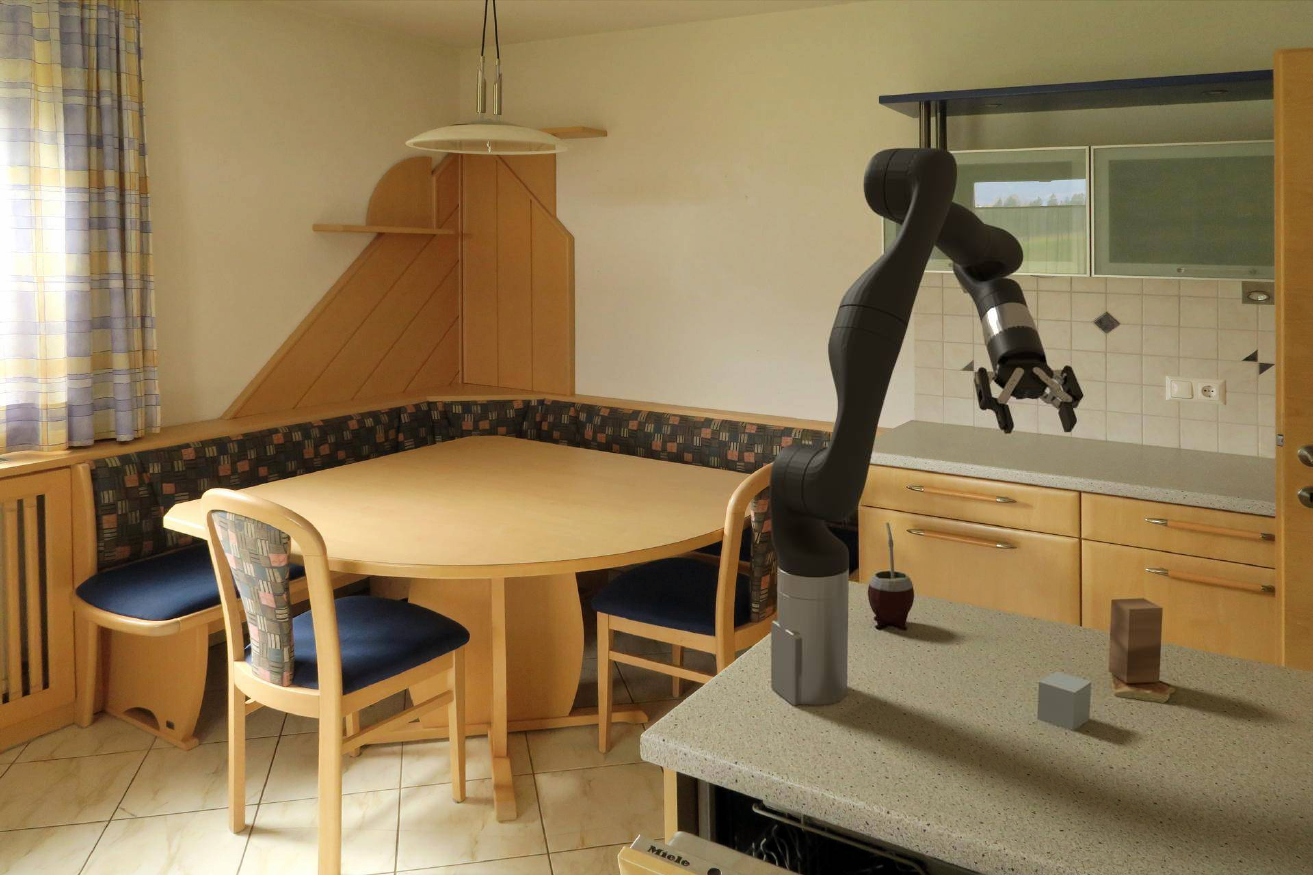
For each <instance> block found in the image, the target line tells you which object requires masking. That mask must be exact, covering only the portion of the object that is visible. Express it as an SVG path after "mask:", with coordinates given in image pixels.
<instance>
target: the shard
mask: <svg viewBox="0 0 1313 875" xmlns="http://www.w3.org/2000/svg"><path fill="white" fill-rule="evenodd" d="M1111 687H1112V689H1113V695H1114V697H1120V698H1126V699H1127V698H1128V699H1135V700H1141V701H1149V702H1155V701H1156V703H1157V702H1158V703H1162V704H1164V703H1165V702H1167V701H1168V700H1169V698H1170V694H1173V693H1175V692H1176V687H1175V686H1172V685H1171V684H1169V683H1166V682H1165V681H1162V680H1160V679H1159V682H1146V683H1125V682H1124V681H1122V680H1121V679H1119V678H1118V677H1116V676H1115V675H1113V674H1112V673H1111Z"/></svg>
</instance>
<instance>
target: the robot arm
mask: <svg viewBox="0 0 1313 875" xmlns="http://www.w3.org/2000/svg"><path fill="white" fill-rule="evenodd" d="M863 175H864V176H863V193H864V194H863V195H864V199H865V201H866V203H867V205H868V206H869V208H870V209H871V210H872V212H873V213H875V214H876V215H878V216H880V217H882V218H884V219H886V220H888V221H889V220H890V221H891V222H894V223H896V224H898V225H901V227H900V229H899V232H898V234H897V235H896V237H895V239H894V240H893V241H892V243H891V244H890V246H889V247H888V248H887V249H886V250H885V251H884V252H883V254H882V255H881V256H880V257H879V258H878V259H877V260H876V261H874V263H873V264H871V265H869V267H868V268H867V269H866V270H865V271H864V272H863V273H862V274H861V275H860V276H859V277H858V278H857V279H856V280H855V281H854V282H853V283H852V285H851V286H849V288H848V289H847V291H846V292H844V293H845V294H844V295H843V297H842V298H841V301H840V304H839V306H838V310H837V313H836V316H835V319H834V320H833V321H834V322H833V324H832V328H831V331H830V334H829V339H828V343H827V354H828V362H829V366H830V370H831V375H832V379H833V382H834V388H835V391H836V397H837V398H836V399H837V412H836V418H835V421H834V422H835V423H834V427H833V430H832V434H831V438H830V441H829V443H828V446H823V445H817V444H816V445H815V444H809V443H802V442H793V443H790V444H788V445H786V446H784V447H782V449H781V450H780V451H779V452H778V453H777V455H776V456H775V458H774V460H773V463H772V467H771V470H770V474H769V475H770V476H769V487H768V488H769V512H770V526H771V528H770V529H771V542H772V545H773V548H774V551H775V553H776V557H777V558H776V560H777V588H776V589H777V592H776V593H777V595H776V596H777V605H776V606H777V609H776V610H777V612H776V613H777V616H776V617H777V619H775V620H772V621H771V623H770V624H771V625H770V626H771V627H770V638H771V639H770V641H771V642H770V652H771V653H770V661H771V663H770V670H771V671H770V674H771V675H770V678H771V679H770V688H771V689H772V690H773V691H774V692H776V693H777V694H778V695H779V696H781V697H782V698H783V699H785V700H786V701H787V702H789V704H791V705H794V706H796V705H797V706H798V705H812V706H816V705H818V706H819V705H820V706H823V705H829V704H834V703H837V702H839V701H841V700H843V699H844V698H845V697H846V696H847V694H848V656H849V655H848V653H849V652H848V651H849V650H848V649H849V648H848V647H849V593H850V592H849V588H850V587H849V586H850V583H849V582H850V578H849V576H850V554H849V553H850V552H849V548H848V547H847V545H846V543H845V542H843V540H841V539H839V538H838V537H837V536H836V535H835V534H833V533H832V531H830V529H829V528H828V527H827V525H825V522H824V521H826V522H831V523H841V522H843V521H845V520H847V519H848V518H849V517H851V515H853V513H854V512H855V510H856V509H857V507H858V506H859V503H860V501H861V498H862V497H863V496H862V495H863V494H864V490H865V487H866V483H867V478H868V474H869V469H870V464H871V460H872V455H873V450H874V446H875V440H876V436H877V430H878V425H879V422H880V418H881V414H882V411H883V407H884V404H885V400H886V397H887V396H886V395H887V393H888V390H889V389H888V388H889V385H890V384H891V383H890V382H891V379H892V376H893V372H894V369H895V367H896V364H897V361H898V358H899V356H900V352H901V349H902V346H903V343H904V340H905V337H906V334H907V331H908V328H909V323H910V320H911V315H912V313H913V308H914V305H915V302H916V299H917V296H918V292H919V289H920V285H921V282H922V281H923V276H924V273H925V272H926V267H927V265H928V262H929V260H930V259H931V258H930V257H931V255H932V252H933V251H934V248H935V247H936V248H937V249H938V250H939V251H940V252H941V253H943V254H944V255H945V256H946V257H947V258H949V260H951V261H952V264H951V265H952V266H951V267H952V270H953V274H954V276H955V278H956V279H957V281H958V282H959V283H960V284H961V285H962V287H963V288H964V289H965V290H966V292H967V293H968V294H969V296H970V297H971V299H972V301H973V302H974V305H975V307H976V310H977V314H978V316H979V320H980V325H981V327H982V328H981V329H982V336H983V343H984V345H985V347H986V351H987V353H988V357H989V358H988V359H989V361H990V364H991V368H992V371H987V368H985V367H983V366H982V367H981V366H980V367H979V368H978V369H977V372H976V374H975V376H974V379H973V382H974V387H975V393H976V398H977V403H978V407H979V409H980V410H981V411H986V410H991V411H992V412H993V413H994V414H995V418H996V422H997V425H998V428H999V429H1000V430H1001V431H1003V432H1004V434H1005V435H1007V434H1009V435H1010V434H1012V432H1013V430H1014V427H1015V424H1014V419H1013V417H1012V412H1011V409H1010V406H1009V404H1007V403H1008V402H1009V401H1010V399H1011V397H1012V398H1015V399H1016V400H1024V399H1030V400H1038V399H1039V400H1041V401H1043V403H1044V404H1047V405H1052V407H1054V408H1055V409H1056V410H1058V412H1057V414H1058V417H1059V419H1060V422H1061V426H1062V429H1063V432H1064V433H1072V431H1073V429H1074V427H1075V426H1076V425H1077V422H1078V418H1077V416H1076V413H1075V409H1077V408H1078V406H1079V404H1080V403H1081V401H1082V399H1083V398H1084V392H1083V390H1082V389H1081V385H1080V384H1079V380H1078V378H1077V376H1076V374H1075V372H1074V369H1073V368H1072V366H1070V365H1064V366H1063V368H1062V369H1052V368H1051V366H1049V365H1048V361H1047V356H1046V352H1045V350H1044V346H1043V342H1042V341H1041V337H1040V334H1039V332H1038V329H1037V325H1036V322H1035V320H1034V318H1033V316H1032V314H1031V312H1030V310H1029V307H1028V304H1027V301H1026V298H1025V294H1024V293H1023V290H1022V287H1021V286H1020V284H1019V283H1018V282H1017V281H1016V280H1014V279H1012V278H1009V277H1008V276H1010V275H1013V274H1014V273H1016V272H1017V271H1018V270H1019V269H1020V268H1021V266H1022V264H1023V262H1024V251H1023V247H1022V245H1021V243H1020V242H1019V241H1018V239H1017V238H1016V237H1015V235H1013V234H1011V233H1010V232H1009V231H1007V230H1006V229H1004V228H1001V227H999V226H995V225H990V224H986V223H984V222H983V220H981V219H980V217H979V216H977V215H976V214H975V213H974V212H973V211H971V210H970V209H968V208H967V207H965V206H963V205H961V204H959V203H956V202H954V201H953V200H954V197H955V192H956V188H957V181H958V180H957V179H958V165H957V161H956V159H955V156H954V155H953V154H952V153H951V152H950V151H949V150H947V149H943V148H937V147H935V148H933V147H896V148H887V149H883V150H881V151H879V152H876V153H875V154H874V155H873V156H872V157H871V158H870V160H869V161H868V164H867V166H866V168H865V172H864V174H863ZM992 381H993V382H994V383H995V385H997V387H999V388H1001V389H1002V391H1001V392H1000V394H999V396H998V397H995V396H993V393H992V389H991V384H992ZM1047 389H1049V393H1048V392H1046V391H1047Z"/></svg>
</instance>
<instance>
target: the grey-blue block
mask: <svg viewBox="0 0 1313 875" xmlns="http://www.w3.org/2000/svg"><path fill="white" fill-rule="evenodd" d="M1037 696H1038V697H1037V698H1038V699H1037V700H1038V701H1037V717H1036V720H1039V721H1042V722H1044V723H1047V724H1051V725H1053V726H1056V727H1060V728H1062V729H1065V730H1068V731H1074V730H1076V729H1077V728H1079V727H1080V726H1082V725H1083V724H1085V723H1086V722H1087V721H1089V720H1090V714H1091V713H1090V711H1091V696H1092V681H1091V680H1086V679H1083V678H1080V677H1077V676H1073V675H1070V674H1067V673H1063V672H1060V671H1057V670H1056V671H1054V672H1053V673H1052V674H1050V675H1048V676H1047V677H1044V678H1043V679H1041V680H1039V682H1038V695H1037Z"/></svg>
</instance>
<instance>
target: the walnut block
mask: <svg viewBox="0 0 1313 875" xmlns="http://www.w3.org/2000/svg"><path fill="white" fill-rule="evenodd" d="M1110 602H1111V604H1110V625H1109V626H1110V627H1109V628H1110V629H1109V648H1108V652H1109V653H1108V672H1109V673H1110V674H1111V675H1112V674H1113V675H1115V676H1116V677H1118V678H1119V679H1121V680H1122V681H1124V682H1125V683H1146V682H1159V680H1160V677H1161V676H1160V675H1161V674H1160V672H1161V651H1162V650H1161V649H1162V634H1163V632H1162V631H1163V630H1162V629H1163V610H1164V608H1163V607H1161V606H1160V605H1158V604H1156V603H1155V602H1152V601H1150V600H1148V599H1146V598H1143V597H1140V598H1139V597H1138V598H1137V597H1136V598H1119V599H1117V598H1115V599H1114V598H1113V599H1111V601H1110Z"/></svg>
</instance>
